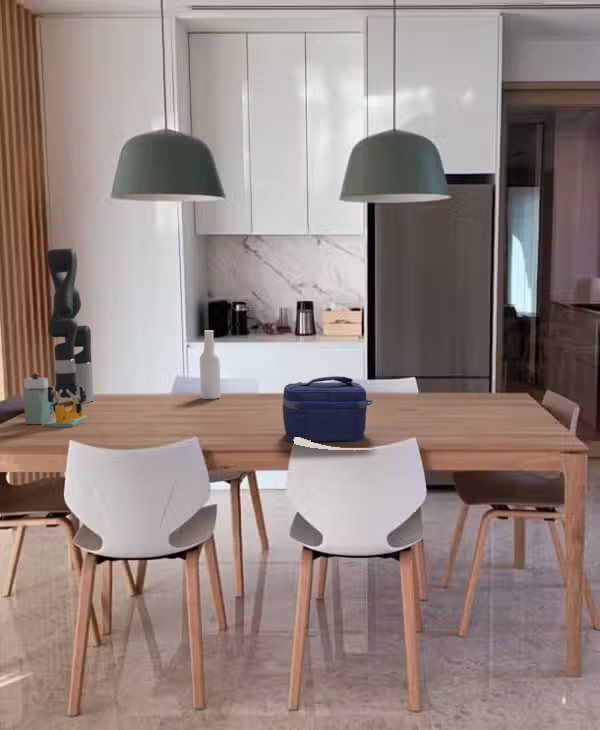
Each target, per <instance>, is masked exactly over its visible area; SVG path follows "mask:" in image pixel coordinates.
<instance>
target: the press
mask: <svg viewBox="0 0 600 730" xmlns="http://www.w3.org/2000/svg"><path fill="white" fill-rule="evenodd" d="M48 387H49V386H48ZM48 387H46V388H26V389H25V390H23V402H24V403H23V405H24V407H23V408H24V420H25V422H24V423H25V425H26V424H42V425H41V426H55V427H54V428H74V427H76V426H77V424H78V425H80V424H82V423H83V422H85V421H87V420H89V415H83V417H81V418H78V419H74V420H71V421H67V422H64V423H56V416H55V417H53V418H52V415H51V413H50V402H48ZM81 422H82V423H81ZM79 423H80V424H79ZM75 425H76V426H75ZM60 426H61V427H60Z"/></svg>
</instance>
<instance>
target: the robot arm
mask: <svg viewBox="0 0 600 730" xmlns="http://www.w3.org/2000/svg"><path fill="white" fill-rule="evenodd" d="M46 262H47V266H48V271H49V273H50V277H51V280H52V282H53V285H54V286H53V287H54V291H55V292H54V294H53V295H54V296H53V308H52V309H53V310H52V313H51V317H50V320H49V322H48V325H47V331H48V334H49V335H50V336H51V337H52V338H64V342H61V343H57V344H55V345H54V372H55V373H54V374H55V375H54V378H55V386H53V385H50V386H49V385H48V402H52V403H53V404H52V405H53V406H52V407H53V412H54V414H56V412H55V406H56V405H60V404H59V401H60V400H61V399H64V398H66V399H67V398H68V399H70V398H71V403H73V401H75V402H76V403H77V404H76V411H77V413H78V414H79V413H80V412H81V411H83V404H85V403H91V401H92V402H93V401H94V382H93V367H92V366H93V364H92V332H91V328H90V326H88V325H78V322H77V321H76V319H75V318H76V317H77V315H78V314H79V312H80V311H81V307H82V302H81V296H80V292H79V290H78V289H77V288H76V286H75V282H76V277H77V269H78V257H77V253H76V251H75V250H74V248H55V249H54V248H53V249H50V250H48V251H47V254H46ZM62 273H66V275H65V276H64V275H63V274H62ZM81 347H82V350H81V351H79V352H78V353H75V348H81ZM55 391H56V396H55V397H54V394H55V393H54V392H55Z"/></svg>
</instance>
